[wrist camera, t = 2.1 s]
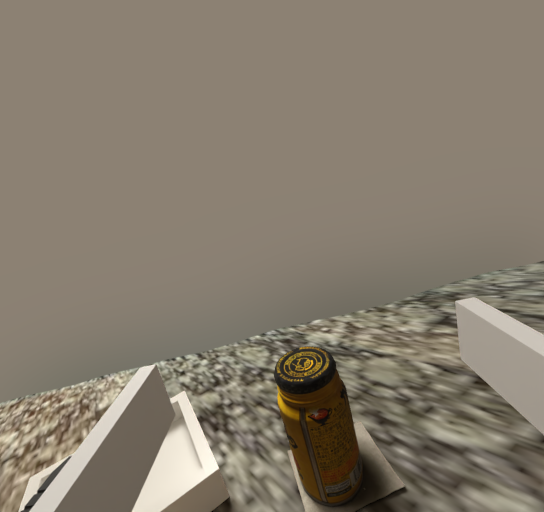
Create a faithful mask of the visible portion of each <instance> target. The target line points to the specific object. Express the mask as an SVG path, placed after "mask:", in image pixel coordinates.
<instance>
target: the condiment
mask: <svg viewBox="0 0 544 512" xmlns="http://www.w3.org/2000/svg"><path fill="white" fill-rule="evenodd" d="M335 363H336V362H335V361H334V359H333V357H332V356H331V354H330V353H329V352H328V351H326V350H325V349H322V348H318V347H310V346H309V347H301V348H296V349H294V350H292V351H290V352H288V353H286V354H285V355H284V356H283V357H281V358H280V359H279V361H278V362H277V364H276V367H275V373H274V377H275V381H276V383H277V388H278V392H279V393H278V406H279V409H280V413H281V416H282V419H283V423H284V427H285V430H286V433H287V437H288V440H289V444H290V448H291V451H288V454H289V458H290V461H291V464H292V468H293V471H294V474H295V478H296V481H297V484H298V488H299V491H300V494H301V498H302V501H303V504H304V508H305V511H306V512H355V511H356V510H358V509H360V508H362V507H364V506H365V505H367V504H369V503H371V502H374V501H376V500H378V499H381V498H383V497H385V496H387V495H389V494H390V493H392V492H393V491H395V490H398V489H400V488H402V487H405V485H404V484H403V483H402V481H401V480H400V478H399V477H398V476H397V474H396V473H395V471H394V470H393V469H392V467H391V466H390V464H389V463H388V461H387V460H386V459H385V457H384V456H383V454H382V453H381V451H380V450H379V448H378V447H377V446H376V444H375V442H374V441H373V439H372V438H371V436H370V435H369V434H368V432H367V431H366V429H365V427H364V426H363V424H362V423H361V422H357V423H353V419H352V414H351V410H350V405H349V401H348V396H347V392H346V388H345V385H344V383H343V381H342V380H341V379H340V377H339V374H338V371H337V369H336V364H335ZM363 488H365V490H364V489H363Z"/></svg>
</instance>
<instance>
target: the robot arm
mask: <svg viewBox="0 0 544 512" xmlns="http://www.w3.org/2000/svg"><path fill="white" fill-rule="evenodd" d="M455 304H456V315H457V325H458V336H459V346H460V357H461V360H463V361H464V362H465V363H466V364H467V365H468V366H469V367H470V368H471V369H472V370H474V371H475V372H476V373H477V374H478V375H479V376H480V377H481V378H482V379H483V380H484V381H486V382H487V383H488V384H489V385H490V386H491V387H492V388H493V389H494V390H495V391H496V392H498V393H499V394H500V395H501V396H502V397H503V398H504V399H505V400H506V401H507V402H508V403H510V404H511V405H512V406H513V407H514V408H515V409H516V410H517V411H518V412H519V413H521V414H522V415H523V416H524V417H525V418H526V419H527V420H528V421H529V422H530V423H531V424H533V425H534V426H535V427H536V428H537V429H538V430H539V431H540V432H541V433H542V434H543V435H544V335H543V334H541V333H539V332H537V331H536V330H534V329H532V328H530V327H528V326H526V325H525V324H523V323H521V322H519V321H517V320H515V319H513V318H512V317H510V316H508V315H506V314H504V313H502V312H500V311H499V310H497V309H495V308H493V307H491V306H489V305H488V304H486V303H484V302H482V301H480V300H478V299H476V298H475V297H473V298H469V299H464V300H459V301H455ZM175 415H176V414H175V412H174V409H173V406H172V404H171V401H170V399H169V396H168V394H167V391H166V388H165V386H164V383H163V381H162V378H161V376H160V373H159V370H158V368H157V365H156V364H155V365H150V366H146V367H141V368H139V370H138V371H137V372H136V374H135V375H134V376H133V378H132V379H131V380H130V381H129V383H128V384H127V385H126V387H125V388H124V389H123V390H122V392H121V393H120V394H119V396H118V397H117V398H116V400H115V401H114V402H113V403H112V405H111V406H110V407H109V409H108V410H107V411H106V413H105V414H104V415H103V416H102V418H101V419H100V420H99V422H98V423H97V424H96V426H95V427H94V428H93V429H92V431H91V432H90V433H89V435H88V436H87V437H86V439H85V440H84V441H83V442H82V444H81V445H80V446H79V448H78V449H77V450H76V451H75V453H74V454H73V455H72V456H69V457H68V458H67V459H66V460H65V461H64V462H63V463H61V464H60V465H59V466H58V467H57V468H56V469H55V470H54V471H53V472H52V473H51V474H50V475H49V477H48V478H47V479H46V480H45V482H44V483H43V484H42V485H41V487H40V488H39V489H38V490H37V494H35V495H33V497H32V498H31V499H30V500H29V502H28V503H27V504H26V505H25V508H24V510H23V511H21V512H132V510H133V508H134V506H135V503H136V501H137V499H138V497H139V495H140V492H141V490H142V488H143V486H144V484H145V481H146V479H147V477H148V475H149V472H150V470H151V468H152V466H153V464H154V461H155V459H156V457H157V455H158V452H159V450H160V448H161V446H162V444H163V441H164V439H165V437H166V435H167V433H168V430H169V428H170V426H171V424H172V421H173V419H174V417H175Z"/></svg>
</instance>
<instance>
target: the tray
mask: <svg viewBox="0 0 544 512" xmlns="http://www.w3.org/2000/svg"><path fill="white" fill-rule="evenodd" d="M170 401H171V404H172V406H173V409H174V412H175V414H176V415H175V417H174V419H173V421H172V424H171V426H170V428H169V430H168V433H167V435H166V437H165V439H164V441H163V444H162V446H161V448H160V450H159V452H158V455H157V457H156V459H155V461H154V464H153V466H152V468H151V470H150V472H149V475H148V477H147V479H146V481H145V484H144V486H143V488H142V490H141V492H140V495H139V497H138V499H137V501H136V503H135V506H134V508H133V510H132V512H211V511H213V510H214V509H215V508H216V507H218V506H219V505H220V504H221V503H223V502H224V501H225V500H226V499H228V498H229V497H230V496H229V494H228V491H227V488H226V486H225V483H224V480H223V478H222V475H221V472H220V470H219V467H218V465H217V463H216V461H215V458H214V456H213V454H212V452H211V449H210V447H209V445H208V442H207V440H206V438H205V436H204V433H203V431H202V429H201V427H200V424H199V422H198V420H197V418H196V415H195V413H194V411H193V409H192V406H191V404H190V402H189V400H188V397H187V395H186V393H185V391H183V392H181V393H180V394H178V395H176V396H174V397H173V398H171V399H170ZM73 454H74V453H73ZM73 454H71V455H70V456H72V455H73ZM68 457H69V456H68ZM68 457H66V458H64V459H62V460H61V461H59V462H57V463H55V464H54V465H52V466H50V467H48V468H46V469H45V470H43V471H41V472H39V473H38V474H36V475H34V476H32V477H30V479H29V482H28V485H27V488H26V491H25V494H24V497H23V500H22V503H21V506H20V509H19V512H21V511H23V510H24V508H25V505H26V504H27V503H28V502H29V500H30V499H31V498H32V497H33V495H35V494H37V490H38V489H39V488H40V487H41V485H42V484H43V483H44V482H45V480H46V479H47V478H48V477H49V475H50V474H51V473H52V472H53V471H54V470H55V469H56V468H57V467H58V466H59V465H60V464H61V463H63V462H64V461H65V460H66V459H67V458H68Z"/></svg>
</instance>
